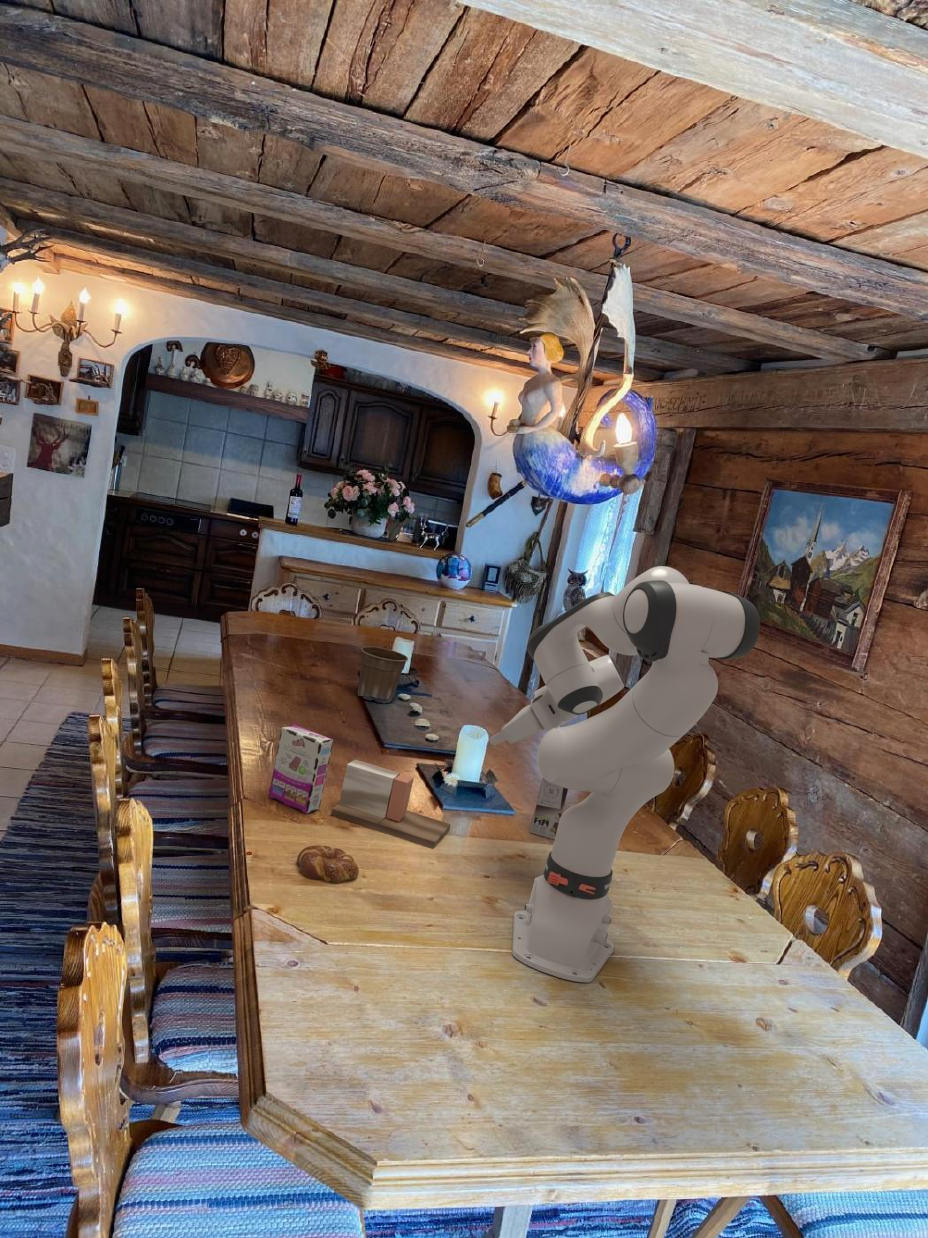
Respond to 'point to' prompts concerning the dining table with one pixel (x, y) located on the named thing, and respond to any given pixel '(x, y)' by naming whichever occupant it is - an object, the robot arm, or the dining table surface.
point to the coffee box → (548, 809)
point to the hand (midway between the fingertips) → (497, 736)
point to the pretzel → (327, 864)
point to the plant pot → (380, 672)
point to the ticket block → (382, 806)
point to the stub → (399, 797)
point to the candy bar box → (300, 768)
